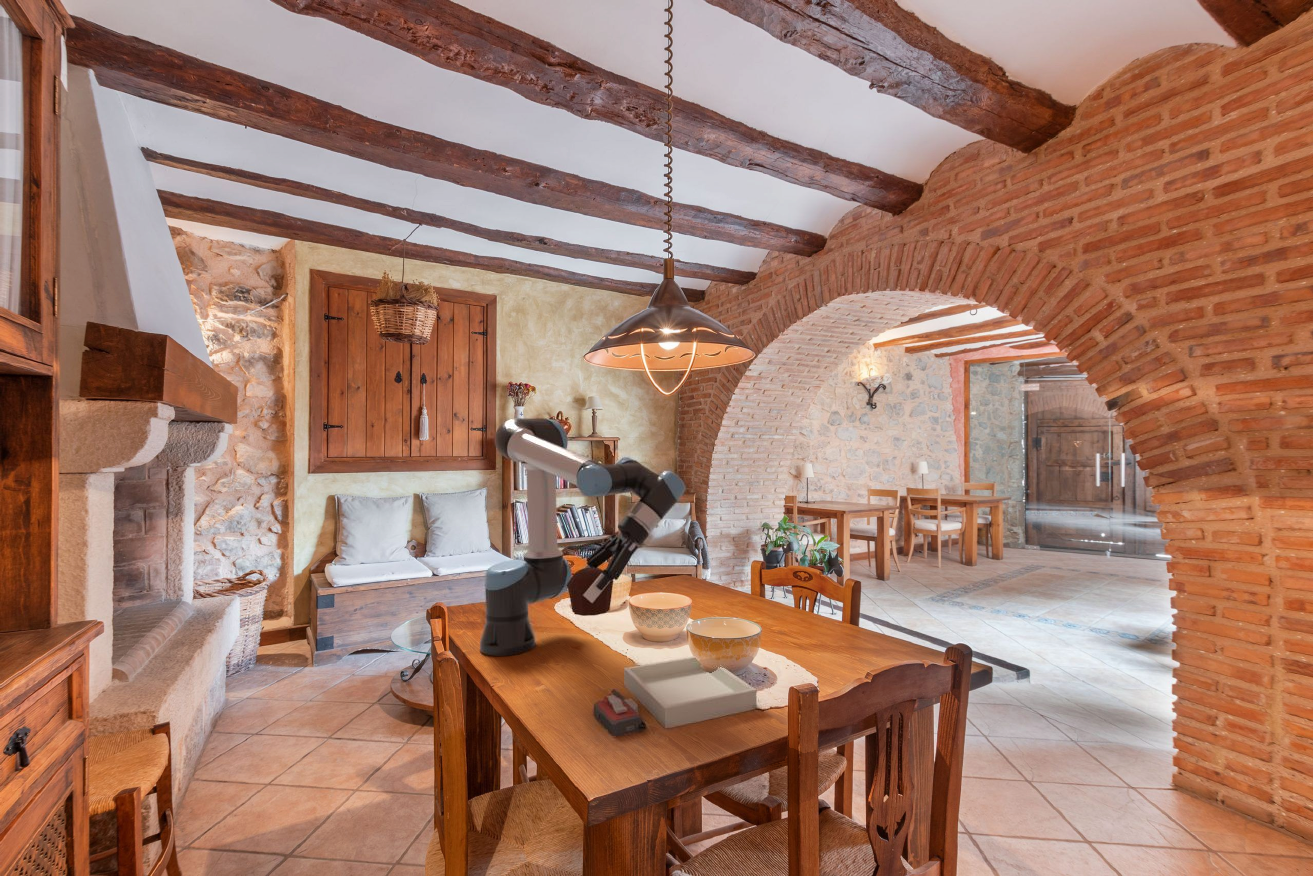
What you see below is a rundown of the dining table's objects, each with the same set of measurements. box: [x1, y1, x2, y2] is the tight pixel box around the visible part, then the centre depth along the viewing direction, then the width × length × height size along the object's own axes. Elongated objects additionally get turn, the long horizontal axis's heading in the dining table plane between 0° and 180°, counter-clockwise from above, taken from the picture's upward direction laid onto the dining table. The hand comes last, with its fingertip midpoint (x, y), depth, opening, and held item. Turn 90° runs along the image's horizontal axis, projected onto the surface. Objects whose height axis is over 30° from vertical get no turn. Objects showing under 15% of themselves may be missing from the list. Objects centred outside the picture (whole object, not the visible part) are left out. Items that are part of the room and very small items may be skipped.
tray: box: [623, 655, 758, 729], centre depth 135 cm, size 24×21×4 cm
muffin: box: [567, 567, 614, 617], centre depth 146 cm, size 12×11×10 cm
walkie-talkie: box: [593, 688, 647, 738], centre depth 126 cm, size 9×4×20 cm
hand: (580, 593), depth 145 cm, fingers closed on muffin, 12 cm apart
